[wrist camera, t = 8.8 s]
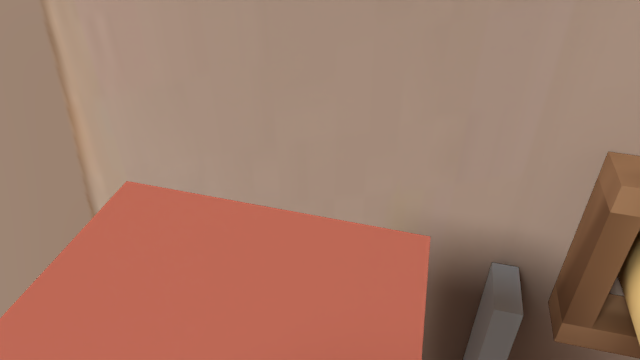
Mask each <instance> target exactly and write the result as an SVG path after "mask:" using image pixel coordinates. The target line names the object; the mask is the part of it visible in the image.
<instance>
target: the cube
mask: <svg viewBox="0 0 640 360" xmlns="http://www.w3.org/2000/svg"><path fill="white" fill-rule="evenodd" d="M429 249H430V236H424V235H419V234H413V233H408V232H402V231H397V230H391V229H386V228H380V227H375V226H369V225H364V224H358V223H353V222H348V221H342V220H337V219H331V218H326V217H320V216H315V215H309V214H304V213H298V212H293V211H287V210H282V209H276V208H271V207H266V206H260V205H255V204H249V203H244V202H238V201H233V200H227V199H222V198H216V197H211V196H205V195H200V194H194V193H189V192H183V191H178V190H173V189H167V188H162V187H156V186H151V185H145V184H140V183H134V182H129V181H126V183H125V184H124V185H123V186H122V187H121V188H120V189H119V190H118V191H117V192H116V193H115V194H114V196H113V197H112V198H111V199H110V200H109V201H108V202H107V203H106V204H105V205H104V206H103V207H102V209H101V210H100V211H99V212H98V213H97V214H96V215H95V216H94V217H93V218H92V219H91V221H90V222H89V223H88V224H87V225H86V226H85V227H84V228H83V229H82V230H81V231H80V233H79V234H78V235H77V236H76V237H75V238H74V239H73V240H72V241H71V242H70V243H69V244H68V245H67V247H66V248H65V249H64V250H63V251H62V252H61V253H60V254H59V255H58V256H57V257H56V258H55V260H54V261H53V262H52V263H51V264H50V265H49V266H48V267H47V268H46V269H45V270H44V272H43V273H42V274H41V275H40V276H39V277H38V278H37V279H36V280H35V281H34V282H33V284H32V285H31V286H30V287H29V288H28V289H27V290H26V291H25V292H24V293H23V294H22V295H21V296H20V298H19V299H18V300H17V301H16V302H15V303H14V304H13V305H12V306H11V307H10V308H9V309H8V311H7V312H6V313H5V314H4V315H3V316H2V317H1V318H0V360H422V347H423V333H424V319H425V305H426V291H427V277H428V263H429Z"/></svg>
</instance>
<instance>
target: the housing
mask: <svg viewBox="0 0 640 360" xmlns="http://www.w3.org/2000/svg"><path fill="white" fill-rule="evenodd" d="M639 229H640V156H635V155H628V154H621V153H614V152H608V154H607V156H606V159H605V161H604V164H603V166H602V169H601V171H600V174H599V176H598V179H597V181H596V184H595V186H594V189H593V191H592V194H591V196H590V199H589V201H588V204H587V206H586V209H585V211H584V214H583V216H582V219H581V221H580V224H579V226H578V229H577V231H576V234H575V236H574V239H573V241H572V244H571V246H570V249H569V251H568V254H567V256H566V259H565V261H564V264H563V266H562V269H561V271H560V274H559V276H558V279H557V281H556V284H555V286H554V289H553V291H552V294H551V296H550V299H549V301H548V304H549V310H550V317H551V323H552V330H553V336H554V341H555V342H560V343H565V344H570V345H575V346H580V347H585V348H590V349H595V350H600V351H605V352H610V353H615V354H620V355H625V356H630V357H635V358H640V345H639V341H638V338H637V335H636V332H635V329H634V325H633V322H632V319H631V316H630V313H629V309H628V306H627V303H626V300H625V297H624V296H618V295H613V294H609V292H610V290H611V288H612V285H613V283H614V281H615V279H616V277H617V275H618V273H619V271H620V269H621V267H622V265H623V263H624V261H625V258H626V256H627V254H628V252H629V250H630V248H631V246H632V244H633V242H634V240H635V238H636V236H637V234H638V232H639Z"/></svg>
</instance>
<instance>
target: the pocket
mask: <svg viewBox="0 0 640 360" xmlns="http://www.w3.org/2000/svg"><path fill="white" fill-rule="evenodd" d="M522 318H523V305H522V295H521V285H520V276H519V267H515V266H509V265H504V264H498V263H493V262H492V264H491V268H490V271H489V274H488V278H487V281H486V284H485V288H484V291H483V294H482V298H481V301H480V304H479V308H478V311H477V314H476V318H475V321H474V324H473V328H472V331H471V334H470V338H469V341H468V344H467V348H466V351H465V354H464V358H463V360H507V359H508V356H509V353H510V351H511V348H512V345H513V342H514V340H515V337H516V334H517V332H518V329H519V326H520V324H521V321H522Z"/></svg>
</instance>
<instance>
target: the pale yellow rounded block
mask: <svg viewBox="0 0 640 360" xmlns="http://www.w3.org/2000/svg"><path fill="white" fill-rule="evenodd" d="M618 277H619V281H620V284H621V287H622V290H623V293H624V297H625V300H626V303H627V306H628V309H629V313H630V316H631V319H632V322H633V325H634V329H635V332H636V335H637V338H638V341H639V345H640V232H639V233H638V234H637V236H636V238H635V240H634V242H633V244H632V246H631V248H630V250H629V252H628V254H627V256H626V258H625V261H624V263H623V265H622V267H621V269H620V271H619V273H618Z"/></svg>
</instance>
